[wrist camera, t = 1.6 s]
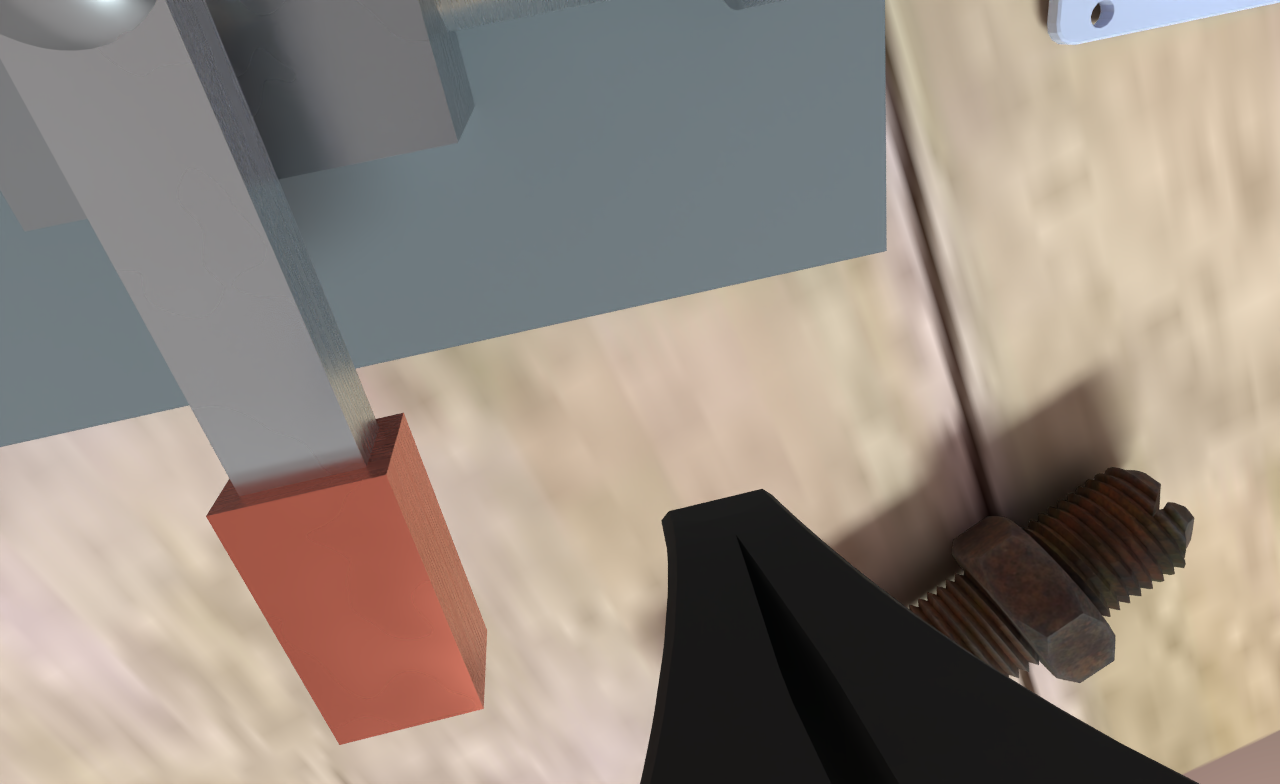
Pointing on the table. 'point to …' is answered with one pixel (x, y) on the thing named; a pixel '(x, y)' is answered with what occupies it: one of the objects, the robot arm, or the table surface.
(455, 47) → the valve manifold
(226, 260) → the valve lever
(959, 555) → the bolt
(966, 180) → the table surface
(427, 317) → the mounting plate
